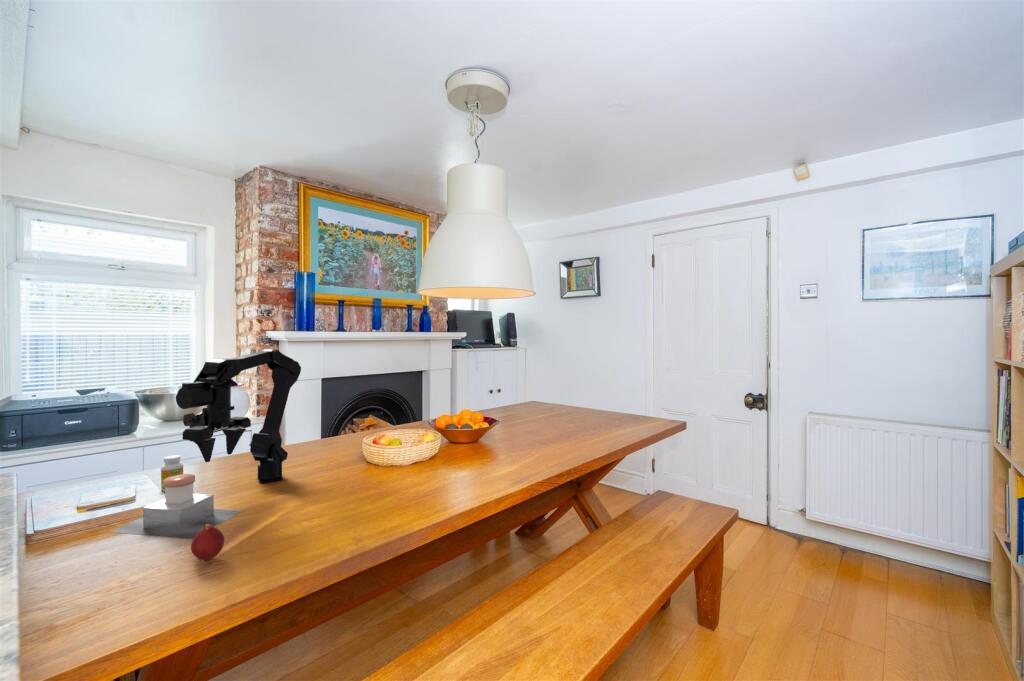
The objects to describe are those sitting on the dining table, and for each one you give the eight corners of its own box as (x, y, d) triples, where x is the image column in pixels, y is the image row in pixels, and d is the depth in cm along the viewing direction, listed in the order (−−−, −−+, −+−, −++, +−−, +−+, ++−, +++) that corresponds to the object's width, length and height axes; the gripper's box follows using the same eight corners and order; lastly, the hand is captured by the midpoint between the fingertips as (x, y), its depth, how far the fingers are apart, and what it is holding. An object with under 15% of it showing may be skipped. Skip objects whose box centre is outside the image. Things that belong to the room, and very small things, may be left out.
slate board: (169, 508, 122) (169, 505, 122) (243, 514, 119) (243, 510, 119) (108, 535, 106) (108, 531, 106) (192, 543, 103) (192, 539, 103)
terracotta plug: (179, 499, 116) (179, 473, 115) (201, 500, 115) (201, 474, 115) (156, 509, 109) (156, 481, 109) (179, 510, 108) (179, 483, 108)
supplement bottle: (171, 492, 134) (171, 460, 133) (156, 490, 135) (156, 458, 134) (187, 486, 139) (187, 455, 138) (173, 484, 140) (173, 453, 140)
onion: (202, 554, 98) (201, 518, 98) (229, 553, 98) (229, 517, 98) (185, 568, 92) (184, 530, 92) (214, 567, 93) (214, 529, 92)
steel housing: (179, 511, 118) (179, 492, 118) (213, 513, 116) (213, 494, 116) (143, 528, 108) (142, 507, 108) (180, 531, 107) (179, 510, 106)
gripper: (219, 397, 138) (219, 448, 138) (164, 407, 119) (164, 466, 120) (252, 399, 136) (251, 450, 137) (201, 409, 118) (201, 468, 118)
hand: (218, 458), depth 128 cm, fingers open, 8 cm apart
